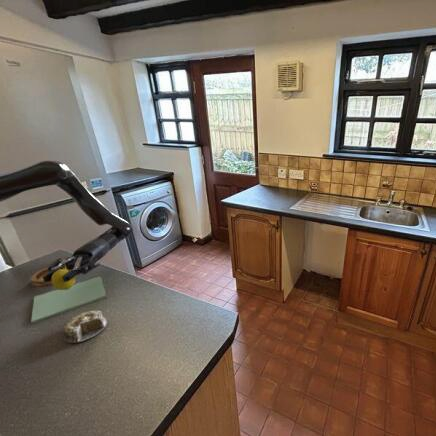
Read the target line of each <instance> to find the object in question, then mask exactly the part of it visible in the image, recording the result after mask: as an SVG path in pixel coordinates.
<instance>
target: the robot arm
mask: <svg viewBox="0 0 436 436" xmlns="http://www.w3.org/2000/svg"><path fill="white" fill-rule="evenodd" d="M49 186H50V187H51V186H56V187H58V188H59V189H60V190H62V191H64V192H65V193H66V194H67V195H68V196H70V198H71V199H72V200H73V201H74V203H76V205H77V206H78V208H79V209H80V210H81V211H82V212H83V213H84V214H85V215H86V216H87V217H88V218H89V219H90V220H91V221H93V222H94V223H95V224H96V225H98V226H99V227H100V226H105V225H109V226H111V227H109V228H108V229H106V230H105V231H104V232H103V233H101V234H99V235H97V236H96V237H95V238H93V239H91V240H89V241H87V242H86V243H84V244H83V245H81V246H79V247H78V248H77V249H76V250H74V251H73V254H72V256H71V257H67V258H66V259H64V260H63V259H62V258H57V259H56V260H54V261H53V262H52V263H51V264H50V265H49V266H48V267H47V268H48V270H49V272H48V273H47V274H45V275H44V276H43V280H44V282H49V281H50V280H51V279H52V275H53V274H54V273H55V272H56V271H58V270H59V269H60V268H61V269H65V266H64V265H66V268H67V270H71V271H69V272H68V273H67V274H65V275H64V276H63V280H64V282H68V281H69V280H71V279H72V278H74V277H75V278H76V277H77V276H80V275H81V274H82V275H86V274H88V273H89V272H91V271H93V270H94V269H95V268H98V267H99V266H100V260H101V259H103V258H104V257H105V256H106V255H107V254H108V253H109V252H110V251H111V250H113V249H114V248H115V247H116V246H117V245H118V244H119V243H120V242H122V241H123V240H125V239H126V238H128V237H130V236H131V235H132V234H133V232H134V229H133V226H132V225H131V224H130V222H128V221H127V220H125V219H124V218H122V217H120V216H118V215H116V214H115V213H113V212H111V210H110V209H108V208H107V207H106V206H105V205H104V203H102V202H101V201H100V200H98V198H96V197H95V196H94V195H93V194H92V193H91V192H90V191H89V190H88V188H86V187H85V186H84V184H82V182H81V181H80V180H79V178H78V177H77V176H76V174H75V173H74V172H73V171H72V170H71V168H69V166H68V165H67V164H65V163H64V162H61V161H57V160H41V161H38V162H36V163H34V164H31V165H29V166H26V167H23V168H20V169H17V170H14V171H10V172H4V173H0V203H2V202H3V201H7V200H9V199H11V198H14V197H15V196H18V195H20V194H21V193H22V194H23V193H24V192H27V191H30V190H36V189H39V188H44V187H49Z"/></svg>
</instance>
